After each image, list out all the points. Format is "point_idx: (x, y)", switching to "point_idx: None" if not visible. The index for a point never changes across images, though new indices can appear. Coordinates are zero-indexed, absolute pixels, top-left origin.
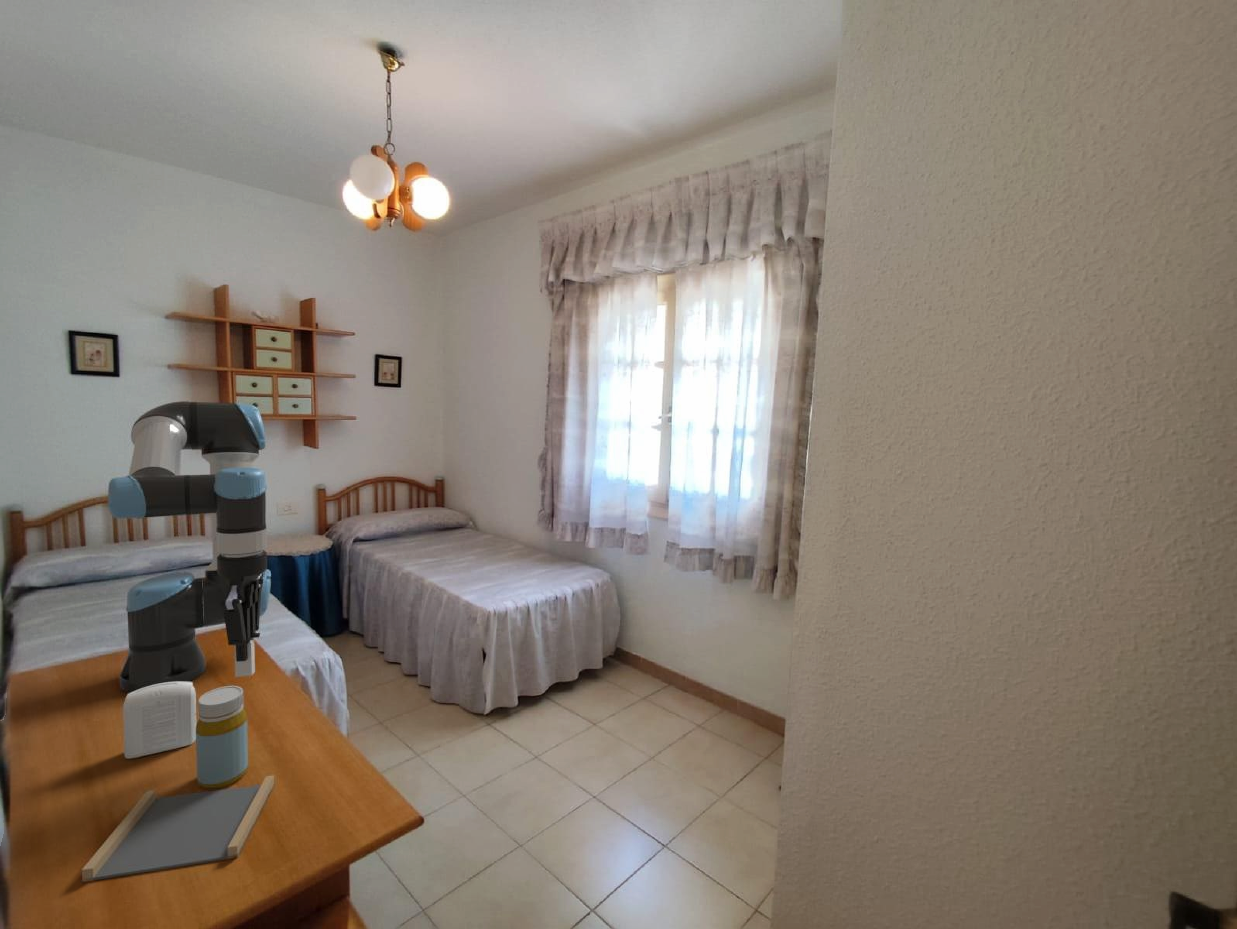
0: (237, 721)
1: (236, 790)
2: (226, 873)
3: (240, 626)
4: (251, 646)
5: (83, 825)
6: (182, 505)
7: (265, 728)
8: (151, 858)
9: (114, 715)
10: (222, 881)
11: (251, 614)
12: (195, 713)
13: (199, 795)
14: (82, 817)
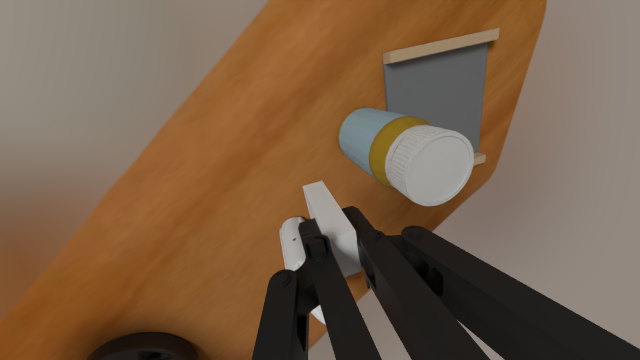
0: (423, 121)
1: (392, 97)
2: (502, 30)
3: (512, 280)
4: (347, 222)
5: (414, 211)
6: None
7: (253, 147)
8: (471, 119)
9: (247, 333)
10: (509, 29)
11: (372, 346)
12: (295, 240)
13: None
14: (404, 221)
